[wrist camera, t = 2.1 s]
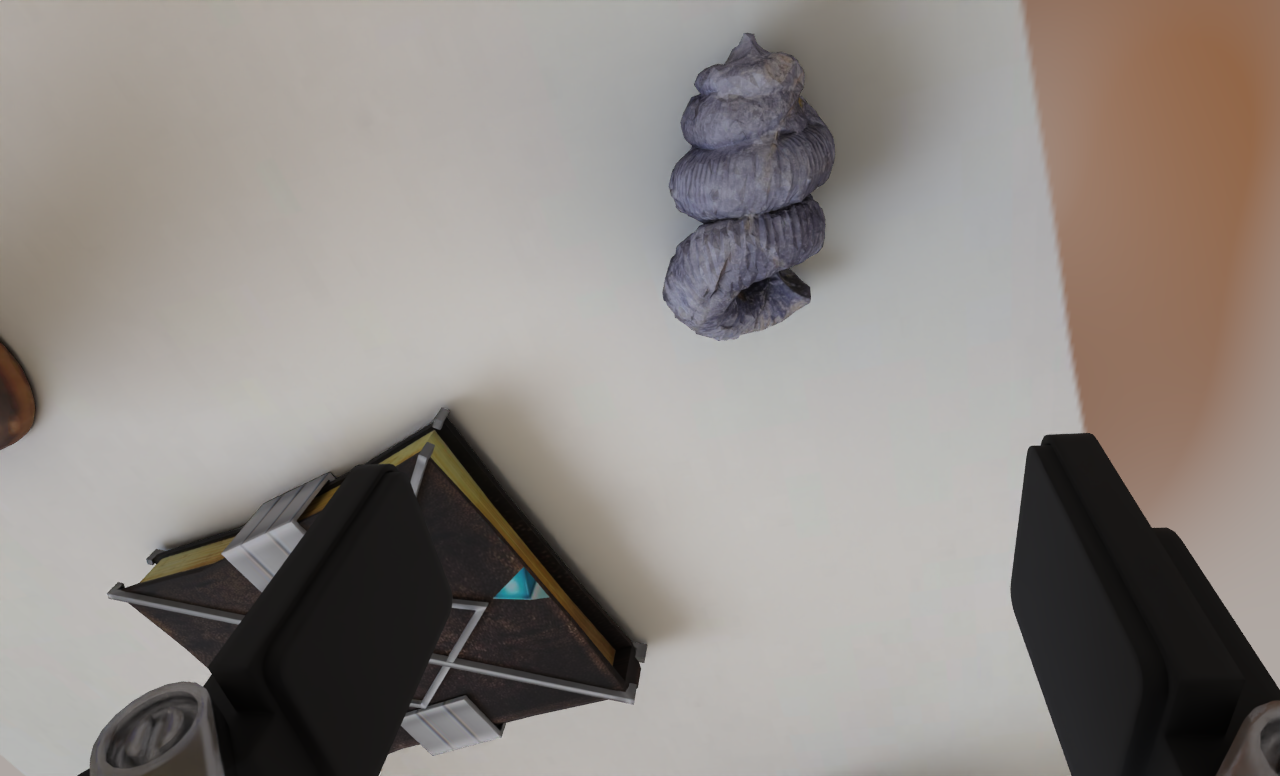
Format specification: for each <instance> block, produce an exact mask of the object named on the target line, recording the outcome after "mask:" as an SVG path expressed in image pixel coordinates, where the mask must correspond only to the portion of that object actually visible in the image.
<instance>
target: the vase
mask: <svg viewBox="0 0 1280 776" xmlns="http://www.w3.org/2000/svg"><path fill="white" fill-rule="evenodd" d="M34 414H35V403H34V397H33V394H32V391H31V388H30V385H29V383H28V381H27V378H26V376H25V374H24V372H23V370H22V367H21V366H20V364H19V363H18V362H17V361H16V359H15V358H14V357H13V356H12V354H11V353H10V352H9V351H8V350H7V349H6V347H5V346H4V345H3V344H2V343H1V342H0V450H1V449H3V448H6V447H8V446H10V445H12V444H14V443H15V442H17V441H18V440H20V439H21V438H22V437H23V436H24V435H25V434H26V433H28V431H29V430H30V428H31V426H32V424H33V420H34Z"/></svg>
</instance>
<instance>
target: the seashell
mask: <svg viewBox="0 0 1280 776" xmlns="http://www.w3.org/2000/svg"><path fill="white" fill-rule="evenodd" d="M694 85H695V87H696V88H697V90H698V91H699V92H700V95H697V96H694V97H691V99H690V101H689V103H688V105H687V107H686V109H685V111H684V114H683V117H682V119H681V128H682V132H683V135H684V138H685V139H686V140H687V141H688V142H689V143H690V144H691V145H692V147H691V149H690V151H689V152H688V153H687V154H686V155H685V156H683V157H682V158H681V159H680V160H679V161H678V162H677V163H676V165H675V168H674V169H673V171H672V175H671V179H670V182H669V189H670V193H671V196H672V197H673V198H674V200H675V203H676V208H677V209H678V210H679V211H680V212H683V213H686V214H687V215H688V216H690V217H693V218H695V219H696V220H698V221H700V222H702V223H704V224H703V225H700V226H699V227H698V229H697V230H696V232H694V233H692V234H691V235H689V236H688V237H687V238H686V239H685V240H684V241H683V242H681V243H680V244H679V245H678V246H677V248H676V254H675V255H674V256H673V257H672V258H671V261H670V264H669V267H668V271H667V274H666V277H665V282H664V288H663V299H664V301H666V303H667V305H668V306H669V308H670V309H671V310H672V311H673V313H674V314H675V318H678V319H679V321H681V322H683V323H684V324H686V325H687V326H688V327H689V328H690V329H691V330H693V331H695V332H696V334H699V335H702V336H706V337H711V338H714V339H716V340H718V341H720V340H728V339H736V338H738V337H739V336H740V335H741V334H746V333H751V332H753V331H761V330H764V329H766V328H768V327H769V326H773V325H775V324H777V323H780V322H782V321H783V320H785V319H786V318H787V317H789V316H790V315H791V314H792V313H794V312H795V311H796V310H798V309H800V308H802V307H803V306H805V305H807V304H809V303H810V300H811V293H810V287H809V286H808V285H807V284H805V283H804V282H803V281H802V280H801V279H800V278H799V277H798V276H797V275H796V274H795V273H794V272H793V271H792V270H790V269H788V268H790V267H792V266H794V265H797V264H800V263H802V262H804V261H805V260H806V259H808V258H809V257H811V256H813V255H815V254H816V253H818V252H819V251H820V249H821V248H822V247H823V243H824V239H825V217H824V213H823V209H822V208H821V207H820V206H819V203H818V202H816V201H814V200H813V197H812V195H811V194H810V193H811V192H813V191H814V190H815V189H816V188H818V187H820V186H821V185H823V184H824V183H825V182H826V181H827V179H828V178H829V176H830V173H831V169H832V166H833V163H834V159H835V144H834V139H833V136H832V134H831V132H830V131H829V129H828V127H827V126H826V125H825V123H824V122H823V121H822V120H821V118H820V117H819V116H818V114H817V112H816V111H815V110H814V109H813V108H812V107H811V106H810V105H809V104H808V103H807V102H806V101H805V99H804V98H803V97H802V96H799V95H800V93H801V91H802V90H803V88H804V70H803V68H802V67H801V66H800V64H799V62H798V60H797V59H796V58H794V57H793V56H792V55H789V54H786V53H783V52H777V53H773V52H768V51H766V50H764V49H763V48H762V47H760V46H759V45H758V44H757V42H756V39H755V36H754V34H751V33H744V34H743V36H742V39H741V41H740V43H739V45H738V46H737V47H735V48H734V49H733V50H732V52H731V54H730V56H729V58H728V60H727V61H726V62H725V64H724V65H723V64H717V65H713V66H711V67H708V68H706V69H704V70H703V71H702V72H701V73H699V74H698V76H697V79H696V81H695V83H694Z"/></svg>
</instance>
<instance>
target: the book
mask: <svg viewBox="0 0 1280 776" xmlns="http://www.w3.org/2000/svg"><path fill="white" fill-rule="evenodd" d="M449 411H450V410H448V409H445V408H443V407H442V408H441V409H440V411H439V413H438V414H437V416H436V417H435V419H434V422H433V423H431V424H430V425H428V426H427V427H425V428H423V429H422V430H420V431H418V432H417V433H415V434H413V435H412V436H410V437H409V438H407V439H405V440H404V441H402V442H400V443H399V444H397V445H395V446H394V447H392V448H390V449H389V450H387V451H386V452H384V453H382V454H381V455H379V456H377V457H376V458H374V459H372V460H371V461H369V462H368V463H366V464H364V465H369V464H393V465H394V466H395V467H396V468H397V469H398V471H399V472H403V473H405V474H406V475H407V476H408V478H409V480H410V482H411V485H412V488H413V490H414V493H415V496H416V498H417V501H418V504H419V506H420V509H421V511H422V514H423V517H424V519H425V522H426V525H427V527H428V530H429V532H430V535H431V538H432V540H433V543H434V546H435V548H436V551H437V554H438V556H439V559H440V561H441V564H442V567H443V569H444V572H445V575H446V577H447V580H448V582H449V585H450V588H451V591H452V598H453V600H452V609H451V612H450V615H449V617H448V620H447V622H446V624H445V626H444V629H443V631H442V633H441V635H440V638H439V640H438V642H437V645H436V647H435V649H434V651H433V654H432V656H431V658H430V660H429V663H428V665H427V667H426V669H425V672H424V674H423V676H422V678H421V681H420V683H419V685H418V687H417V690H416V692H415V694H414V696H413V699H412V701H411V703H410V706H409V708H408V710H407V712H406V715H405V717H404V719H403V721H402V724H401V726H400V728H399V730H398V733H397V735H396V737H395V739H394V742H393V744H392V746H391V748H390V751H389V753H388V754H390V753H392V752H395V751H397V750H400V749H403V748H407V747H411V746H415V745H419V744H421V745H422V746H423V747H424V748H425V749H426V750H427V751H428V752H429V753H430V754H431V755H432V756H434V755H438V754H441V753H445V752H449V751H453V750H457V749H460V748H464V747H468V746H472V745H475V744H479V743H483V742H487V741H491V740H494V739H498V738H501V737H502V734H503V731H504V728H505V725H506V722H510V721H514V720H518V719H522V718H526V717H530V716H534V715H539V714H543V713H548V712H553V711H557V710H562V709H567V708H571V707H576V706H580V705H585V704H590V703H594V702H599V701H604V700H608V699H609V700H614V701H619V702H624V703H628V704H633V705H634V700H635V694H636V689H637V688H638V683H639V677H640V671H641V667H640V664H639V662H641V663H644V661H645V655H646V649H647V644H642V643H637V642H632V641H631V640H630V639H629V638H628V637H627V636H626V635H625V633H624V632H623V631H622V630H621V629H620V628H619V627H618V626H617V624H616V623H615V622H614V621H613V620H612V619H611V618H610V617H609V616H608V614H607V613H606V612H605V611H604V610H603V609H602V608H601V607H600V605H599V604H598V603H597V602H596V601H595V600H594V599H593V598H592V596H591V595H590V594H589V593H588V592H587V591H586V590H585V589H584V588H583V586H582V585H581V584H580V583H579V582H578V580H577V579H576V578H575V577H574V575H573V574H572V573H571V572H570V571H569V569H568V568H567V567H566V566H565V564H564V563H563V562H562V561H561V560H560V558H559V557H558V556H557V555H556V554H555V552H554V551H553V550H552V549H551V547H550V546H549V545H548V544H547V543H546V541H545V540H544V539H543V538H542V536H541V535H540V534H539V533H538V532H537V530H536V529H535V528H534V527H533V525H532V524H531V523H530V522H529V521H528V519H527V518H526V517H525V516H524V514H523V513H522V512H521V511H520V510H519V508H518V507H517V506H516V505H515V504H514V502H513V501H512V500H511V499H510V497H509V496H508V495H507V494H506V493H505V491H504V490H503V489H502V487H501V486H500V485H499V484H498V482H497V481H496V480H495V478H494V477H493V476H492V474H491V473H490V472H489V471H488V469H487V468H486V467H485V465H484V464H483V463H482V462H481V460H480V459H479V458H478V456H477V455H476V454H475V453H474V451H473V450H472V449H471V447H470V446H469V445H468V444H467V442H466V441H465V440H464V438H463V437H462V436H461V435H460V433H459V432H458V431H457V429H456V428H455V427H454V425H453V424H452V423H451V422H450V420H449V419H448V414H449ZM349 473H350V472H349ZM349 473H347V474H345V475H343V476H341V477H339V478H337V479H335V477H334V476H333V475H332V474H331V473H330V472H329V473H327V474H325V475H323V476H320V477H318V478H316V479H314V480H312V481H310V482H308V483H306V484H304V485H302V486H300V487H298V488H295V489H293V490H291V491H289V492H287V493H285V494H283V495H281V496H279V497H277V498H275V499H272V500H270V501H268V502H266V503H264V504H263V505H262V506H261V507H260V508H259V509H258V511H257V512H256V513H255V514H254V515H253V517H252V518H251V519H250V520H249V521H248V522H247V524H246V525H244V526H242V527H240V528H238V529H235V530H232V531H229V532H226V533H222V534H219V535H216V536H213V537H210V538H207V539H203V540H200V541H197V542H194V543H191V544H187V545H184V546H181V547H178V548H175V549H172V550H168V551H163V550H158V549H156V550H155V551H154V552H153V553H152V554H151V555H150V556H149V557H148V558H147V559H146V560H147V563H148V564H150V565H154V563H156V564H157V565H156V566H155V567H154V568H153V569H152V570H151V571H150V572H149V573H148V574H147V575H146V577H145V578H144V579H143V580H142V581H141V582H140V583H138V584H135V585H132V586H129V587H127V588H125V587H124V584H123V583H120V582H118V583H117V584H116V585H115V586H114V587H113V588H112V589H111V590H110V591H109V592H108V593H107V595H108V598H109V599H114V600H119V601H124V602H128V603H129V604H130V605H132V606H133V607H134V608H135V609H137V610H138V611H139V612H140V613H142V614H143V615H144V616H145V617H147V618H148V619H149V620H150V621H152V622H153V623H154V624H156V625H157V626H158V627H159V628H161V629H162V630H163V631H164V632H166V633H167V634H168V635H169V636H171V637H172V638H173V639H174V640H176V641H177V642H178V643H179V644H181V645H182V646H183V647H184V648H186V649H187V650H188V651H189V652H190V653H191V654H192V655H194V656H195V657H196V658H197V659H198V660H199V661H200V662H202V663H203V664H204V665H205V666H206V667H207V668H208V666H209V665H210V663H211V662H212V660H213V659H214V658H215V656H216V655H217V654H218V652H219V651H220V649H221V648H222V647H223V645H224V644H225V643H226V641H227V640H228V638H229V637H230V636H231V634H232V633H233V632H234V630H235V629H236V628H237V626H238V625H239V623H240V622H241V621H242V619H243V618H244V617H245V615H246V614H247V612H248V611H249V610H250V608H251V607H252V606H253V604H254V603H255V601H256V600H257V599H258V597H259V596H260V595H261V593H262V592H263V590H264V589H265V588H266V586H267V585H268V584H269V582H270V581H271V580H272V578H273V577H274V575H275V574H276V573H277V571H278V570H279V569H280V567H281V566H282V564H283V563H284V562H285V560H286V559H287V558H288V556H289V555H290V553H291V552H292V551H293V549H294V548H295V547H296V545H297V544H298V543H299V541H300V540H301V538H302V537H303V536H304V534H305V533H306V532H307V530H308V529H309V527H310V526H311V525H312V523H313V522H314V521H315V519H316V518H317V516H318V515H319V514H320V512H321V511H322V510H323V508H324V507H325V505H326V504H327V503H328V501H329V500H330V499H331V497H332V496H333V495H334V493H335V492H336V490H337V489H338V488H339V486H340V485H341V484H342V482H343V481H344V479H345V478H346V477H347V475H348V474H349Z"/></svg>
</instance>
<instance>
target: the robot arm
mask: <svg viewBox="0 0 1280 776" xmlns="http://www.w3.org/2000/svg"><path fill="white" fill-rule="evenodd" d="M452 600H453V598H452V591H451V588H450V585H449V582H448V580H447V577H446V575H445V572H444V569H443V567H442V564H441V561H440V559H439V556H438V554H437V551H436V548H435V546H434V543H433V540H432V538H431V535H430V532H429V530H428V527H427V525H426V522H425V519H424V517H423V514H422V511H421V509H420V506H419V504H418V501H417V498H416V496H415V493H414V490H413V488H412V485H411V482H410V480H409V478H408V476H407V475H406V474H405V473H403V472H399V471H398V469H397V468H396V467H395V466H394V465H393V464H369V465H358V466H355V467H354V468H353V469H352V470H351V471H350V473H349V474H348V475H347V477H346V478H345V479H344V481H343V482H342V484H341V485H340V486H339V488H338V489H337V490H336V492H335V493H334V495H333V496H332V497H331V499H330V500H329V501H328V503H327V504H326V505H325V507H324V508H323V510H322V511H321V512H320V514H319V515H318V516H317V518H316V519H315V521H314V522H313V523H312V525H311V526H310V527H309V529H308V530H307V532H306V533H305V534H304V536H303V537H302V538H301V540H300V541H299V543H298V544H297V545H296V547H295V548H294V549H293V551H292V552H291V553H290V555H289V556H288V558H287V559H286V560H285V562H284V563H283V564H282V566H281V567H280V569H279V570H278V571H277V573H276V574H275V575H274V577H273V578H272V580H271V581H270V582H269V584H268V585H267V586H266V588H265V589H264V590H263V592H262V593H261V595H260V596H259V597H258V599H257V600H256V601H255V603H254V604H253V606H252V607H251V608H250V610H249V611H248V612H247V614H246V615H245V617H244V618H243V619H242V621H241V622H240V623H239V625H238V626H237V628H236V629H235V630H234V632H233V633H232V634H231V636H230V637H229V638H228V640H227V641H226V643H225V644H224V645H223V647H222V648H221V649H220V651H219V652H218V654H217V655H216V656H215V658H214V659H213V660H212V662H211V663H210V665H209V666H208V669H209V670H210V672H211V673H212V675H211V676H210V678H209V679H208V681H207V682H206V683H205V685H204V686H203V687H202V686H201V685H199V684H197V683H192V682H178V683H172V684H167V685H164V686H162V687H159V688H157V689H154V690H152V691H149V692H147V693H146V694H144V695H142V696H141V697H139V698H137V699H136V700H134V701H132V702H131V703H130V704H129V705H127V706H126V707H125V708H124V709H122V710H121V711H120V712H119V713H118V714H116V715H115V716H114V717H113V719H112V720H111V721H110V722H109V723H108V724H107V725H106V726H105V728H104V729H103V730H102V731H101V733H100V735H99V737H98V738H97V740H96V742H95V744H94V745H93V749H92V753H91V758H90V769H88V770H86V771H84V772H83V773H81V774H79V775H77V776H379V773H380V771H381V769H382V766H383V764H384V762H385V760H386V757H387V755H388V753H389V751H390V748H391V746H392V744H393V742H394V739H395V737H396V735H397V733H398V730H399V728H400V726H401V724H402V721H403V719H404V717H405V715H406V712H407V710H408V708H409V706H410V703H411V701H412V699H413V696H414V694H415V692H416V690H417V687H418V685H419V683H420V681H421V678H422V676H423V674H424V672H425V669H426V667H427V665H428V663H429V660H430V658H431V656H432V654H433V651H434V649H435V647H436V645H437V642H438V640H439V638H440V635H441V633H442V631H443V629H444V626H445V624H446V622H447V620H448V617H449V615H450V612H451V609H452ZM1011 600H1012V606H1013V610H1014V613H1015V616H1016V619H1017V622H1018V624H1019V627H1020V630H1021V633H1022V636H1023V639H1024V641H1025V644H1026V647H1027V650H1028V653H1029V656H1030V659H1031V661H1032V664H1033V667H1034V670H1035V673H1036V676H1037V678H1038V681H1039V684H1040V687H1041V690H1042V693H1043V695H1044V698H1045V701H1046V704H1047V707H1048V710H1049V713H1050V715H1051V718H1052V721H1053V724H1054V727H1055V730H1056V732H1057V735H1058V738H1059V741H1060V744H1061V747H1062V749H1063V752H1064V755H1065V758H1066V761H1067V764H1068V767H1069V769H1070V772H1071V775H1072V776H1280V690H1279V688H1278V687H1277V685H1276V683H1275V682H1274V680H1273V679H1272V677H1271V676H1270V675H1269V673H1268V671H1267V670H1266V668H1265V667H1264V665H1263V664H1262V662H1261V661H1260V659H1259V658H1258V656H1257V654H1256V653H1255V651H1254V650H1253V649H1252V647H1251V645H1250V644H1249V642H1248V641H1247V639H1246V638H1245V636H1244V635H1243V633H1242V632H1241V630H1240V629H1239V627H1238V625H1237V624H1236V622H1235V621H1234V619H1233V618H1232V616H1231V615H1230V613H1229V612H1228V610H1227V609H1226V607H1225V606H1224V604H1223V603H1222V601H1221V599H1220V598H1219V596H1218V595H1217V593H1216V592H1215V591H1214V589H1213V587H1212V586H1211V584H1210V583H1209V581H1208V580H1207V578H1206V577H1205V575H1204V574H1203V572H1202V570H1201V569H1200V567H1199V566H1198V564H1197V563H1196V561H1195V560H1194V558H1193V557H1192V555H1191V554H1190V552H1189V551H1188V549H1187V548H1186V546H1185V544H1184V543H1183V541H1182V540H1181V539H1180V538H1179V536H1178V535H1177V534H1176V533H1175V532H1174V531H1172V530H1170V529H1169V528H1151V526H1150V524H1149V523H1148V521H1147V520H1146V518H1145V516H1144V515H1143V513H1142V511H1141V510H1140V508H1139V507H1138V505H1137V503H1136V502H1135V500H1134V499H1133V497H1132V495H1131V494H1130V492H1129V491H1128V489H1127V487H1126V486H1125V484H1124V483H1123V481H1122V479H1121V478H1120V476H1119V474H1118V473H1117V471H1116V470H1115V468H1114V466H1113V465H1112V463H1111V462H1110V460H1109V458H1108V457H1107V455H1106V454H1105V452H1104V450H1103V449H1102V447H1101V445H1100V444H1099V442H1098V440H1097V439H1096V438H1095V436H1094V435H1093V434H1090V433H1078V434H1055V435H1046V436H1044V438H1043V440H1042V443H1041V446H1030V447H1029V449H1028V452H1027V458H1026V466H1025V474H1024V482H1023V490H1022V498H1021V506H1020V514H1019V522H1018V530H1017V538H1016V546H1015V554H1014V562H1013V571H1012V579H1011Z"/></svg>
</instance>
